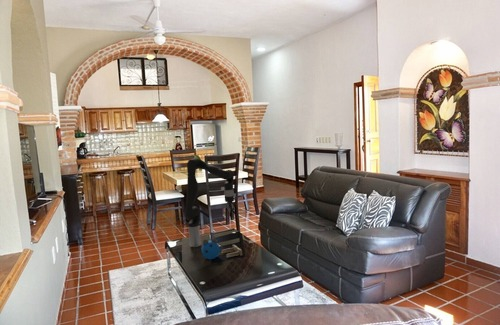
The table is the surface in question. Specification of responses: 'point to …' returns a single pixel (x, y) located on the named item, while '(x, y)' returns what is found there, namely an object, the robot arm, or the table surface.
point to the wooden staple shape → (235, 248)
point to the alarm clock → (210, 248)
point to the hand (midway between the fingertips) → (231, 216)
